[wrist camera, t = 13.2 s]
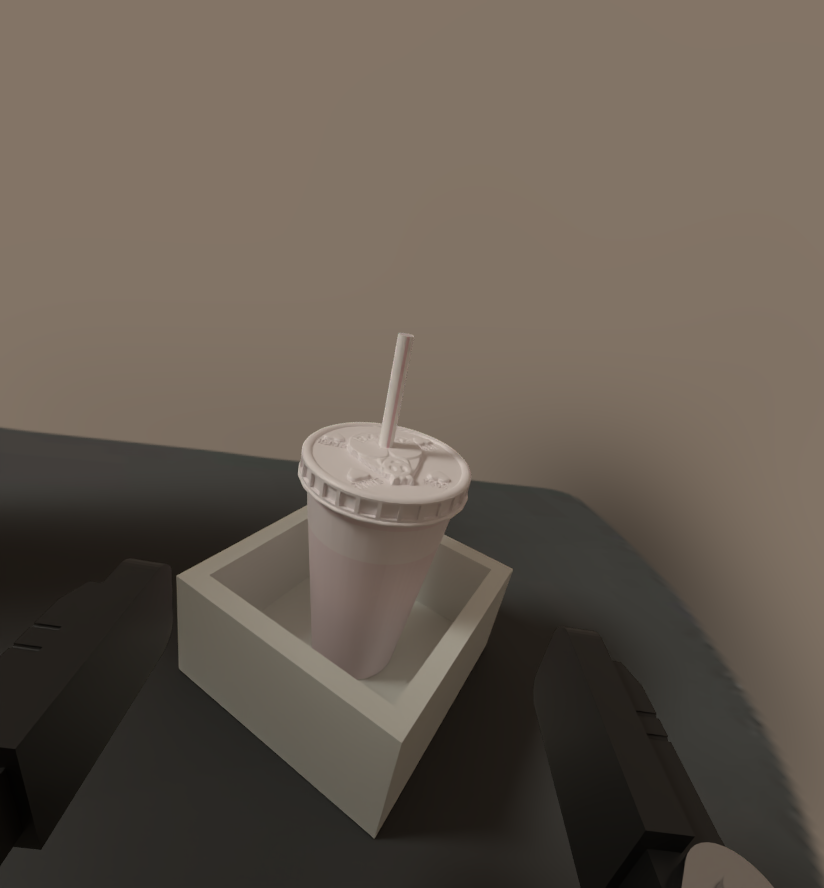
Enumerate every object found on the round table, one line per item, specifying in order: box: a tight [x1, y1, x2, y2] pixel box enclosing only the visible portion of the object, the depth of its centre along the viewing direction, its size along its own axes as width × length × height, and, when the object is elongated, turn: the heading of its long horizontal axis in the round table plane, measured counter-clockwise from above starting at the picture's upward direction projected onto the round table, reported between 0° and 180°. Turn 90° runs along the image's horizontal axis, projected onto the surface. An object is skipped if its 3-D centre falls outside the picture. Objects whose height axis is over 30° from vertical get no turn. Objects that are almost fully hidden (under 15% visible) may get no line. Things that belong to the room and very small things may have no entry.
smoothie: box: [298, 333, 471, 680], centre depth 18 cm, size 6×6×14 cm
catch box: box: [176, 505, 513, 839], centre depth 20 cm, size 10×10×5 cm
